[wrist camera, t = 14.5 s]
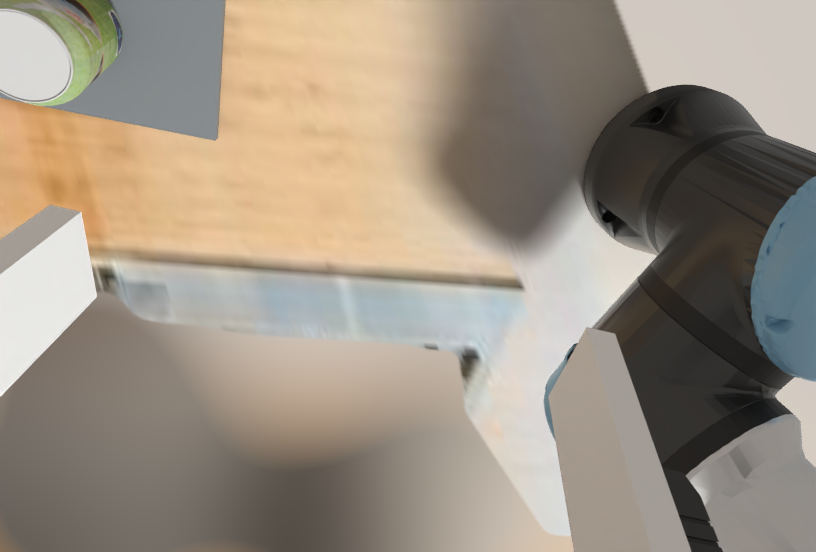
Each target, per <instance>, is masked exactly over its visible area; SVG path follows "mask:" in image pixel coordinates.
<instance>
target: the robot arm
mask: <svg viewBox="0 0 816 552" xmlns="http://www.w3.org/2000/svg"><path fill="white" fill-rule="evenodd" d="M584 192H585V199H586V203H587V206H588V209H589V211H590V213H591V215H592V216H593V218H594V219H595V221H596V222H597V223H598V224H599V225H600V226H601V227H602V228H603V229H604V230H605V231H606V232H607V233H608V234H609V235H610V236H611V237H612V238H613V239H615V240H616V241H618V242H620V243H621V244H623V245H625V246H628V247H630V248H634V249H637V250H640V251H644V252H647V253H651V254H654V255H658V256H657V257H656V258H655V259H654V260H653V261H652V263H651V264H650V265H649V266H648V267H647V268H646V269H645V270H644V272H643V273H642V274H641V275H640V276H639V277H638V278H637V279H636V280H635V281H634V282H633V283H632V284H631V285H630V286H629V288H628V289H627V290H626V291H625V292H624V293H623V294H622V295H621V296H620V297H619V299H618V300H617V301H616V302H615V303H614V304H613V305H612V306H611V307H610V308H609V309H608V311H607V312H606V313H605V314H604V315H603V316H602V317H601V318H600V319H599V320H598V322H597V323H596V324H595V325H594V326H593V327H592V328H588V327H587V328H586V330H585V331H584V333H583V335H582V337H581V339H580V340H579V342H578V343H576V344H574V345H573V346H572V347H571V348H570V349H569V350H568V352H567V354H566V356H565V359H564V361H563V362H562V363H561V364H560V366H559V367H558V368H557V369H556V370H555V372H554V373H553V374H552V375H551V377H550V378H549V380H548V382H547V384H546V392H545V395H544V409H545V414H546V418H547V422H548V425H549V428H550V430H551V433H552V435H553V437H554V439H555V441H556V446H557V452H558V458H559V464H560V470H561V476H562V482H563V488H564V494H565V500H566V506H567V512H568V518H569V524H570V530H571V536H572V542H573V548H574V552H816V467H814V466H813V465H812V464H811V463H810V462H809V461H808V460H807V459H806V458H805V455H804V452H803V450H802V439H801V424H800V423H801V422H800V420H799V419H798V418H797V417H796V416H795V415H794V414H793V413H791V412H790V411H789V410H788V409H787V408H786V407H785V406H783V405H782V404H781V403H780V402H779V401H778V400H777V399H776V397H775V395H776V393H777V392H778V391H779V390H780V389H782V387H783V386H785V385H786V384H787V383H788V382H789V381H790V380H792V379H793V378H794V377H798V378H802V379H805V380H809V381H815V382H816V153H814V152H811V151H809V150H806V149H803V148H801V147H798V146H795V145H793V144H790V143H787V142H785V141H782V140H779V139H777V138H773V137H771V136H768V135H767V134H766V133H765V132H764V131H763V130H762V128H761V127H760V126H759V125H758V123H757V122H756V121H755V120H754V118H753V117H752V116H751V115H750V113H749V112H748V111H747V110H746V109H745V108H744V106H742V105H741V104H740V103H739V102H738V101H736V100H734V99H733V98H732V97H730V96H728V95H726V94H723V93H721V92H718V91H715V90H712V89H709V88H706V87H702V86H696V85H677V86H671V87H666V88H662V89H659V90H656V91H653V92H651V93H649V94H647V95H645V96H643V97H641V98H639V99H637V100H636V101H634V102H633V103H631V104H630V105H629V106H627V107H626V108H625V109H623V110H622V111H621V112H620V113H619V114H618V115H617V116H616V117H615V118H614V119H613V120H612V121H611V122H610V123H609V124H608V126H607V127H606V128H605V129H604V131H603V132H602V134H601V135H600V137H599V138H598V140H597V141H596V143H595V145H594V147H593V149H592V152H591V154H590V157H589V159H588V163H587V166H586V171H585V178H584ZM96 297H97V294H96V288H95V283H94V278H93V272H92V267H91V262H90V256H89V251H88V246H87V241H86V235H85V230H84V225H83V219H82V214H81V212H79V211H75V210H70V209H66V208H62V207H57V206H53V205H49V206H48V207H46V208H45V209H44V210H42V211H41V212H39V213H38V214H36V215H35V216H34V217H32V218H31V219H29V220H28V221H26V222H25V223H24V224H22V225H21V226H19V227H18V228H16V229H15V230H14V231H12V232H11V233H9V234H8V235H6V236H5V237H3V238H2V239H1V240H0V397H1V396H2V395H3V394H4V392H5V391H6V390H7V389H8V388H9V387H10V386H11V385H12V384H13V383H14V382H15V381H16V380H17V379H18V378H19V377H20V376H21V375H22V374H23V373H24V372H25V371H26V370H27V369H28V368H29V367H30V366H31V364H32V363H33V362H34V361H35V360H36V359H37V358H38V357H39V356H40V355H41V354H42V353H43V352H44V351H45V350H46V349H47V348H48V347H49V346H50V345H51V344H52V343H53V342H54V341H55V340H56V339H57V338H58V337H59V336H60V335H61V333H62V332H63V331H64V330H65V329H66V328H67V327H68V326H69V325H70V324H71V323H72V322H73V321H74V320H75V319H76V318H77V317H78V316H79V315H80V314H81V313H82V312H83V311H84V310H85V309H86V308H87V307H88V306H89V305H90V303H91V302H92V301H93V300H94V299H95V298H96Z"/></svg>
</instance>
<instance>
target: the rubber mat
mask: <svg viewBox="0 0 816 552" xmlns="http://www.w3.org/2000/svg"><path fill="white" fill-rule="evenodd" d="M107 1H108V2H109V3H110V4H111V6H112V7H113V8H114V10H115V12H116V13H117V15H118V17H119V20H120V22H121V26H122V30H123V46H122V49H121V52H120V54H119V56H118V57H117V59H116V60H115V61H114V62H113V63H112V64H111V65H110V66H109V67H108V68H107V69H106V70H105V71H104V72H102V73H101V74H100V75H99V76H98V77H97V78H96V79H95V80H94V81H93V82H92V83H91V84H90V85H89V86H88V87H87V88H86V89H85V90H84V91H83V92H82V93H80V94H79V95H78V96H77V97H75V98H74V99H73V100H71V101H69V102H66V103H64V104H59V105H54V106H44V107H49V108H54V109H59V110H64V111H69V112H74V113H79V114H84V115H89V116H94V117H99V118H104V119H109V120H114V121H119V122H124V123H129V124H134V125H140V126H145V127H150V128H155V129H160V130H165V131H170V132H175V133H180V134H185V135H190V136H195V137H200V138H205V139H210V140H216V139H217V138H218V124H219V106H220V88H221V70H222V52H223V34H224V16H225V0H107ZM0 98H3V99H8V100H13V101H18V102H21V101H19V100H16V99H13V98H11V97H9V96H6V95H5V94H3V93H1V92H0ZM23 103H25V102H23Z"/></svg>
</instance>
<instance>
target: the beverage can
mask: <svg viewBox="0 0 816 552" xmlns="http://www.w3.org/2000/svg"><path fill="white" fill-rule="evenodd" d="M122 46H123V30H122V26H121V22H120V20H119V17H118V15H117V13H116V12H115V10H114V8H113V7H112V6H111V4H110V3H109V2H108V1H107V0H0V92H1V93H3V94H5V95H6V96H9V97H11V98H13V99H16V100H19V101H21V102H25V103H28V104H32V105H39V106H54V105H59V104H64V103H66V102H69V101H71V100H73V99H74V98H75V97H77V96H78V95H79V94H80V93H82V92H83V91H84V90H85V89H86V88H87V87H88V86H89V85H90V84H91V83H92V82H93V81H94V80H95V79H96V78H97V77H98V76H99V75H100V74H101V73H102V72H104V71H105V70H106V69H107V68H108V67H109V66H110V65H111V64H112V63H113V62H114V61H115V60H116V59H117V57H118V56H119V54H120V52H121V49H122Z"/></svg>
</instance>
